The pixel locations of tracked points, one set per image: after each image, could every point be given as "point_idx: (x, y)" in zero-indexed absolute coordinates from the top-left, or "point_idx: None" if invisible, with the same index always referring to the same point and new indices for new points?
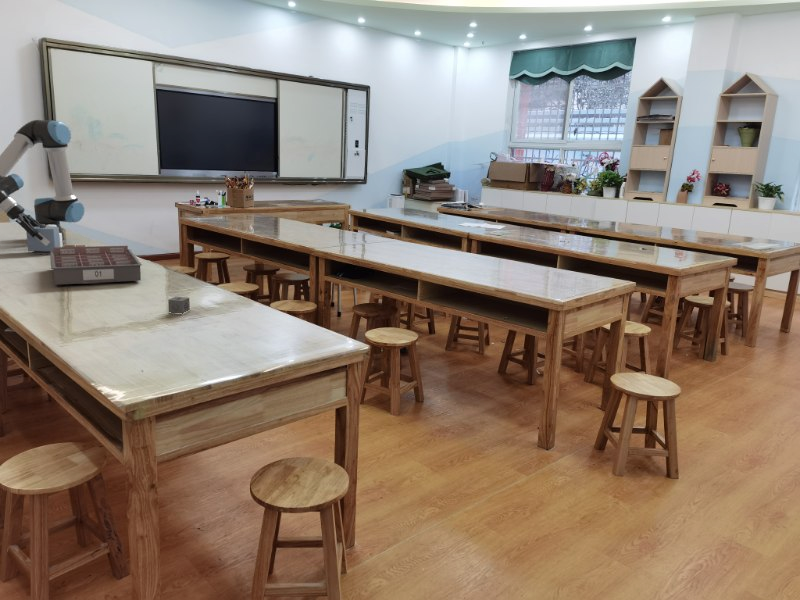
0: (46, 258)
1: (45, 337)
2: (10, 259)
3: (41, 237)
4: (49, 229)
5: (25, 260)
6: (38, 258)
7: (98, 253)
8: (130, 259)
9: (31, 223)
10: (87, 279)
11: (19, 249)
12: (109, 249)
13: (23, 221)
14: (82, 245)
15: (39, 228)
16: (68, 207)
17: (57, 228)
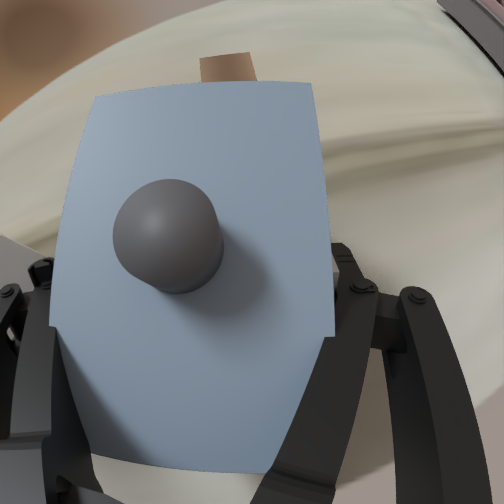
0: (425, 222)
1: None
2: (473, 391)
3: (349, 250)
4: (314, 124)
5: (489, 305)
6: (435, 264)
7: (500, 28)
8: (502, 5)
9: (72, 460)
10: None
11: (108, 479)
12: (487, 2)
13: (490, 493)
14: (214, 64)
15: (295, 265)
16: None
17: (148, 95)
